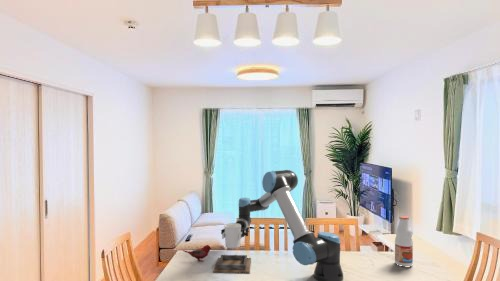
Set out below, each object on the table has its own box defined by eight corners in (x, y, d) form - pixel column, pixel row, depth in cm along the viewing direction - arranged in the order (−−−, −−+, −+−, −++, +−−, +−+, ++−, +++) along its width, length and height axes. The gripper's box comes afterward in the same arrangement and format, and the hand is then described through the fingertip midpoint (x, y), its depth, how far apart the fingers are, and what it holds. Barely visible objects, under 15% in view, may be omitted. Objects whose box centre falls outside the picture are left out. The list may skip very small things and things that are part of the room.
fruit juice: (401, 260, 199) (401, 213, 198) (416, 265, 191) (416, 217, 190) (391, 263, 194) (391, 215, 193) (406, 269, 186) (406, 219, 185)
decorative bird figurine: (211, 262, 195) (211, 246, 195) (181, 261, 197) (181, 244, 197) (212, 261, 198) (212, 244, 198) (183, 259, 200) (183, 243, 200)
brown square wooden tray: (250, 259, 200) (250, 253, 200) (249, 273, 180) (249, 267, 180) (218, 259, 201) (218, 253, 201) (213, 272, 181) (213, 266, 181)
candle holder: (221, 247, 188) (221, 226, 188) (230, 242, 197) (230, 222, 197) (235, 250, 184) (235, 228, 184) (244, 244, 192) (244, 224, 192)
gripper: (257, 233, 206) (249, 245, 183) (224, 231, 210) (212, 242, 188) (257, 221, 205) (249, 231, 183) (224, 219, 210) (212, 229, 188)
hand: (230, 237), depth 186 cm, fingers closed on candle holder, 9 cm apart
